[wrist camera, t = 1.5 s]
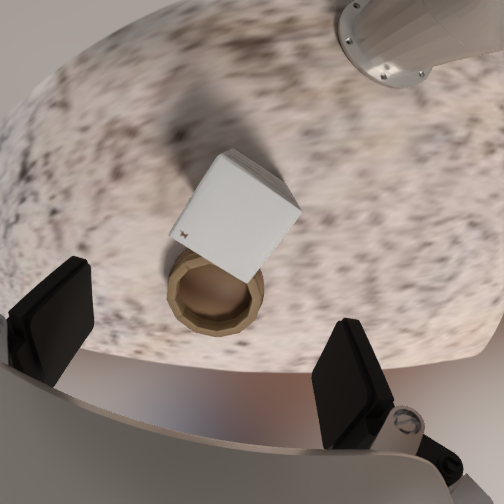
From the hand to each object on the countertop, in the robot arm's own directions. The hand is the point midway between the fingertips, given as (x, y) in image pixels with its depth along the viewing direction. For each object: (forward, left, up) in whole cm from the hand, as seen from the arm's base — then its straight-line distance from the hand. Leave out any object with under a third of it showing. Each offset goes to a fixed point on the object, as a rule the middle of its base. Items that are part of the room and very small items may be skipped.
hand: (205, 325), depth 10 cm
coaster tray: (+12, 0, -24) cm, 27 cm away
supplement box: (0, 0, -24) cm, 24 cm away
